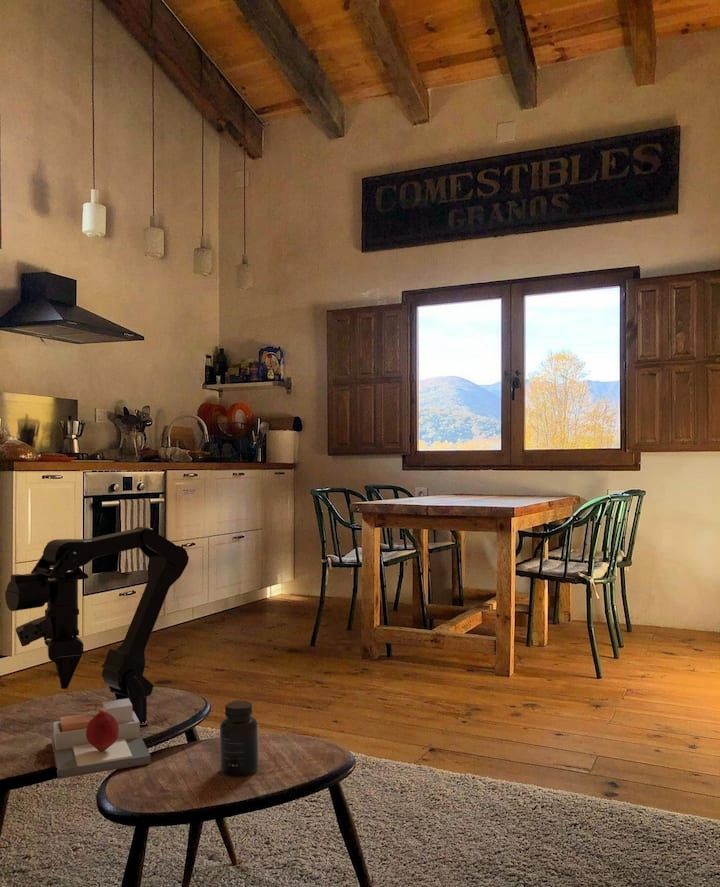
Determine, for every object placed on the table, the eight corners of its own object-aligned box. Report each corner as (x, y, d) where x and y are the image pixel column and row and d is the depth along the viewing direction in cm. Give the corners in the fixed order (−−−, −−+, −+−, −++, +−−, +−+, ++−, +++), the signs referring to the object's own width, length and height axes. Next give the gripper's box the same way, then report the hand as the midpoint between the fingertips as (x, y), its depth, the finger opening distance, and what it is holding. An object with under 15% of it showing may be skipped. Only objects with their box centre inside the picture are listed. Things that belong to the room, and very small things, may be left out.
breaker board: (134, 730, 162) (134, 708, 162) (150, 763, 145) (150, 739, 145) (51, 742, 156) (51, 720, 156) (58, 778, 138) (58, 753, 138)
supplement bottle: (227, 761, 146) (227, 697, 146) (262, 764, 145) (262, 699, 145) (214, 777, 139) (214, 709, 139) (251, 779, 138) (251, 711, 138)
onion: (118, 743, 150) (118, 701, 150) (119, 754, 144) (119, 711, 144) (86, 747, 148) (86, 705, 148) (86, 759, 142) (86, 715, 142)
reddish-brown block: (87, 733, 156) (87, 713, 156) (89, 742, 152) (89, 721, 152) (60, 737, 154) (60, 717, 154) (62, 746, 149) (62, 725, 149)
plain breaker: (128, 717, 159) (128, 698, 159) (132, 725, 155) (132, 705, 155) (102, 721, 157) (102, 701, 157) (106, 729, 153) (106, 708, 153)
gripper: (17, 599, 161) (17, 675, 161) (19, 616, 144) (19, 701, 144) (74, 594, 166) (74, 668, 165) (83, 610, 149) (83, 693, 148)
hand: (62, 682), depth 156 cm, fingers open, 9 cm apart
